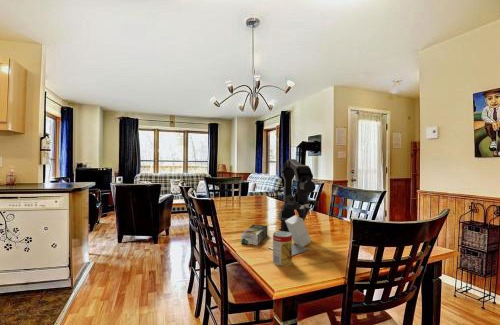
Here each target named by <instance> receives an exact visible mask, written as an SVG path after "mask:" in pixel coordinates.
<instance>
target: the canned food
mask: <svg viewBox="0 0 500 325" xmlns="http://www.w3.org/2000/svg"><path fill="white" fill-rule="evenodd" d="M292 244H293V239H292V234H291V233H290V232H285V231H282V230H279V231H275V232H273V233H272V246H273V250H272V263H273V264H274V263H275V264H274V265H276V264H277V265H276V266H279V265H281V266H282V267H287V265H288V266H291V265H292V263H293V262H292V261H293V256H292ZM281 266H280V267H281Z"/></svg>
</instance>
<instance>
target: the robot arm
mask: <svg viewBox="0 0 500 325" xmlns="http://www.w3.org/2000/svg"><path fill="white" fill-rule="evenodd" d="M280 173H281V177H282V178H283V184H284V185H283V204H282V206H281V208H280V211H279V214H278V220H279V221H280V228H279V231H285V232H289V229H288V227H287V225H286V222H285V221H286V220H287V219H289V218H291V217H293V216H294V215H295V216H296V212H295V211H297V214H298V217H300V218H303V221H304V222H305V220H306V217H307V215H308V213H309V212H310V210H311V209H312V207H310V206H313V207H318V206H319V202H318V200H316V199H309V196H310V195H311V194H312V193H314V192H315V191H316V188H317V187H316V183H315V182H314V181H312V180H314V174H313V172H312V169H311V168H310V166H309V165H307V164H305V165H304V164H302V163H300V162H299V161H297V159H295V158H288V159H287V160H286V161H285V162H283V163H282V164H281V167H280ZM294 178H295V180H296V192H294V194H292V192H293V179H294Z"/></svg>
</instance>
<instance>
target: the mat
mask: <svg viewBox="0 0 500 325" xmlns="http://www.w3.org/2000/svg"><path fill="white" fill-rule="evenodd" d="M268 249H269V250H271V249H272V251H273V245H272V246H268ZM308 251H310V250H309V248H305V247H300V246H298V245H297V244H295V243H292V257H294V256H297V255H298V254H299V255H300V254H303V253H306V252H308Z"/></svg>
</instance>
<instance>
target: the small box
mask: <svg viewBox="0 0 500 325" xmlns="http://www.w3.org/2000/svg"><path fill="white" fill-rule="evenodd" d="M285 222H286V225H287V227H288V229H289V232H290V233H291V234H292V243H293V244H294V245H297V246H300V247H303V248H305V246H307V245H308V244H309V243H311V242H312V239H311V236H310V234H309V233H310V232H309V231H308V228H307V227H306V223H305V220H304V221H303V218H300V217H299V216H297V215H296V214H295V215H294V216H293V217H291V218H289V219H287V220H286V221H285Z"/></svg>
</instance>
